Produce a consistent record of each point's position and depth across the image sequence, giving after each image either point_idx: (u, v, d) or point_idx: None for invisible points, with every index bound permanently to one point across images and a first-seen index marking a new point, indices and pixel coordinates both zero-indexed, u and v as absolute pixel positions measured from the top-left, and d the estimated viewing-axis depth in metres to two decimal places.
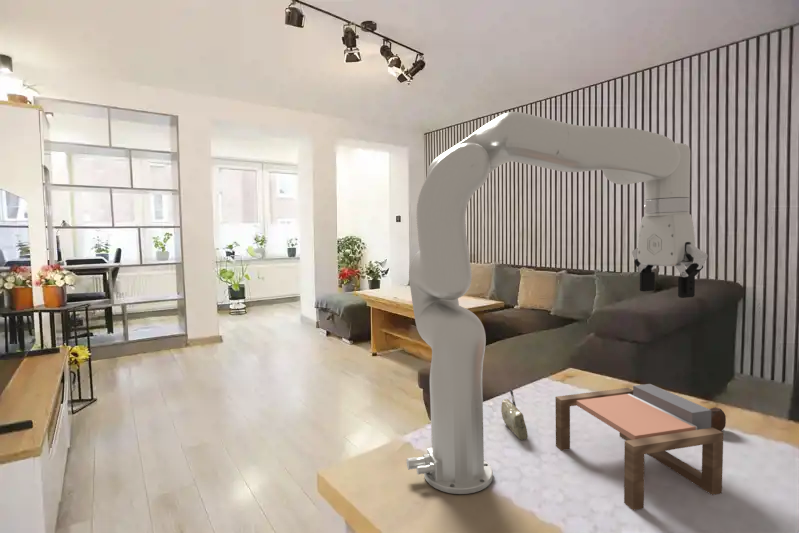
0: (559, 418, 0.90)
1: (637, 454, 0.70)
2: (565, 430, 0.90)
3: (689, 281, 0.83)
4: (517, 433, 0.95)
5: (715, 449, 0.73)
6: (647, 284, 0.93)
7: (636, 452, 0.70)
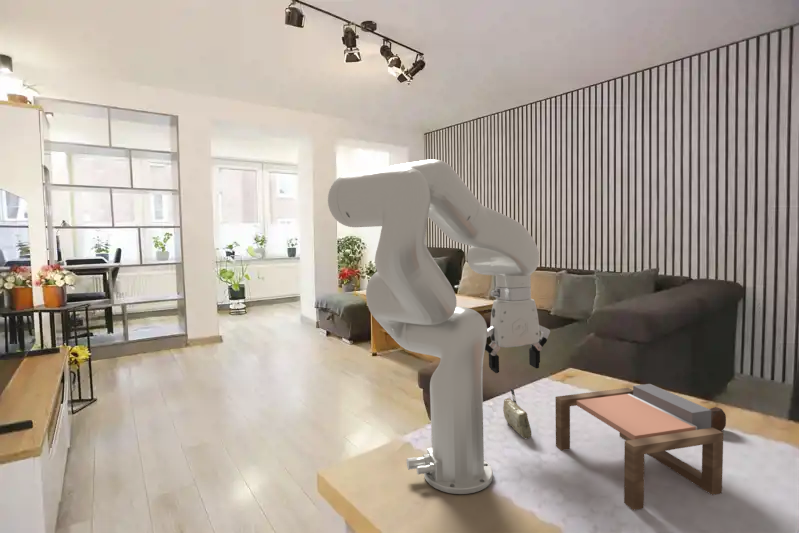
0: (559, 418, 0.90)
1: (637, 454, 0.70)
2: (565, 430, 0.90)
3: None
4: (521, 432, 0.95)
5: (715, 449, 0.73)
6: None
7: (636, 452, 0.70)
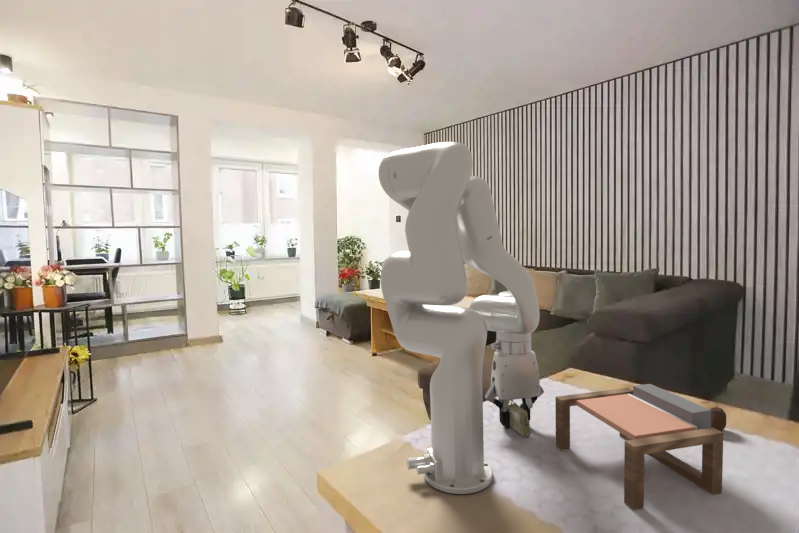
0: (559, 418, 0.90)
1: (637, 454, 0.70)
2: (565, 430, 0.90)
3: None
4: (521, 431, 0.96)
5: (715, 449, 0.73)
6: None
7: (636, 452, 0.70)
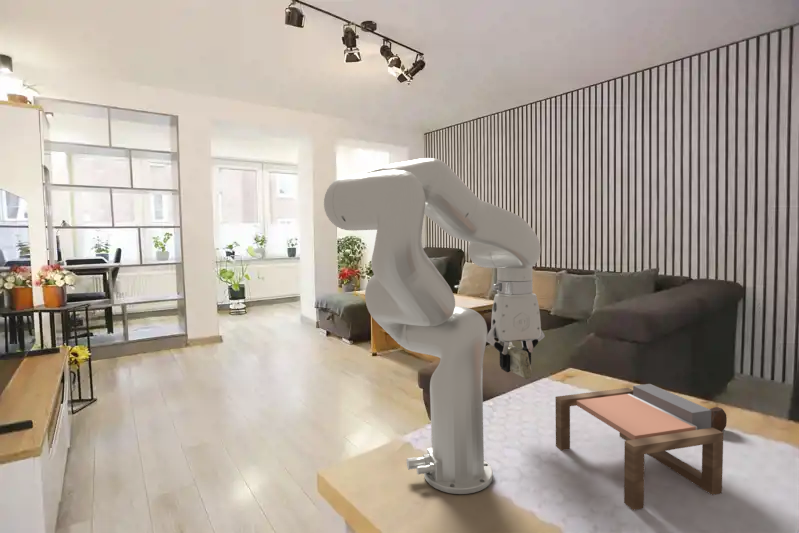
0: (559, 418, 0.90)
1: (637, 454, 0.70)
2: (565, 430, 0.90)
3: None
4: (522, 372, 0.94)
5: (715, 449, 0.73)
6: None
7: (636, 452, 0.70)
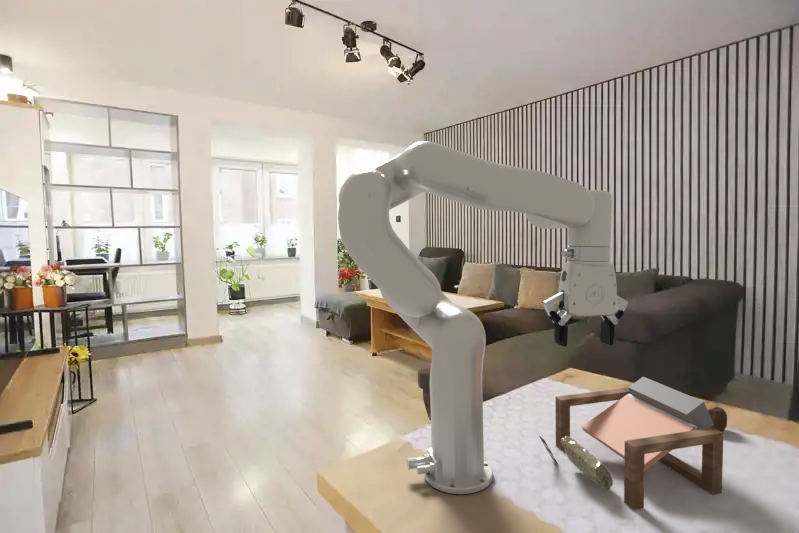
0: (559, 418, 0.90)
1: (637, 454, 0.70)
2: (565, 430, 0.90)
3: None
4: (605, 467, 0.74)
5: (715, 449, 0.73)
6: None
7: (636, 452, 0.70)
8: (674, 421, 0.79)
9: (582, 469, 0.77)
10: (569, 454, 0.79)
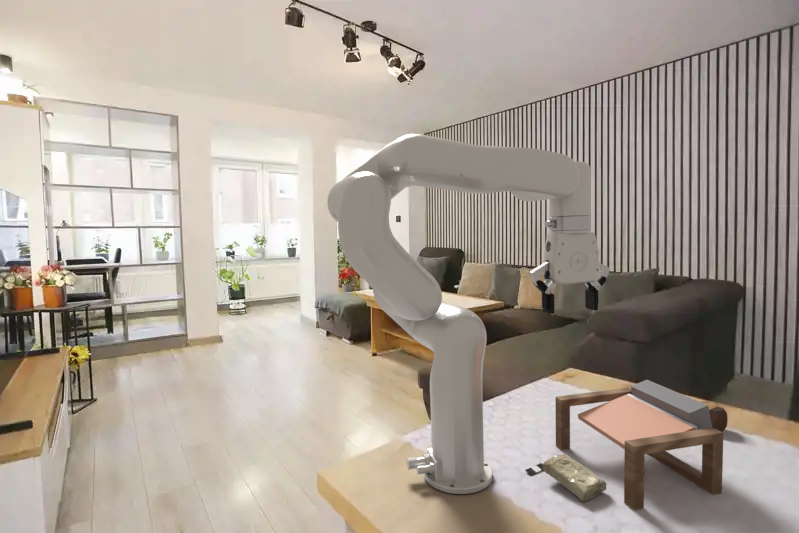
0: (559, 418, 0.90)
1: (637, 454, 0.70)
2: (565, 430, 0.90)
3: None
4: (590, 487, 0.73)
5: (715, 449, 0.73)
6: None
7: (636, 452, 0.70)
8: (674, 420, 0.79)
9: None
10: None
